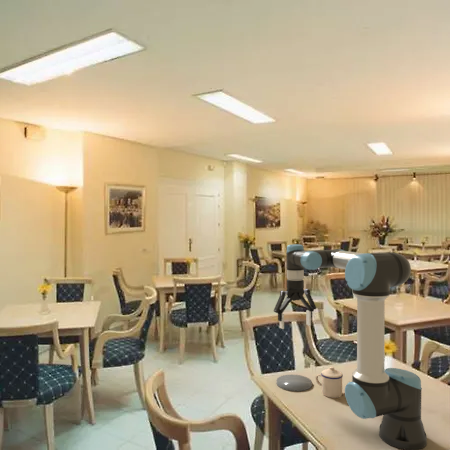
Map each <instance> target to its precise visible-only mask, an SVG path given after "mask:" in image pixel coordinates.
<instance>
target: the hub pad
mask: <svg viewBox="0 0 450 450" xmlns="http://www.w3.org/2000/svg"><path fill="white" fill-rule="evenodd" d="M276 385H277V387H278V388H280V389H283V390H285V391H289V392H304V391H308V390H309V389H311V388H312V386H313V381H312V379H310V378H309V377H307V376H305V375H300V374H283V375H280V376H279V377H277V378H276Z"/></svg>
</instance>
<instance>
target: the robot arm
mask: <svg viewBox="0 0 450 450" xmlns="http://www.w3.org/2000/svg"><path fill="white" fill-rule="evenodd" d="M285 254H286V279H287V280H286V291H285V290H280V293H279V297H278V299H277V301H276V304H275V307H274V308H273V312H274V313H276V314H277V321H278V322H279V328H280V330H281V329H282V330H284V329H285V314H284V312H285V310H287V309H286V308H287V307H288V306H289V304H290V303H291V302H294V301H300V302H301V303H302V304H303V305H304V306H305V307H306V309H307V310H306V311H305V312H306V315H305V317H306V318H305V320H306V321H305V325H306V326H308V327H311V326H312V318H313V312H314V311H315V310H317V306H316V304H315V302H314V299H313V297H312V294H311V290H310V289H309V288H304V287H305V281H304V278H305V277H304V276H305V274H304V273H305V271H304V270H305V269H306V270H311V271H312V270H317V269H322V268H323V269H326V268H335V269H341V270H344V279H345V281H346V284H347V286H348V288H349V289H351V290H352V294H353V296H354V297H356V303H357V305H356V308H357V309H356V311H357V312H356V313H357V314H356V319H357V320H356V329H357V330H356V342H357V343H356V369H354V370H353V371H352V377H351V378H352V379H351V381H348V383H347V384H345V387H344V396H345V399H346V402H347V405H348V406H349V409H350V410H351V411H352V413H353V414H354V415H355V416H356V417H358V418H360V419H363V420H367V419H375V418H377V417H382V419H381V423H380V425H379V426H378V435H379V437H380V439H381V440H382V441H383V442H384V443H386V444H388V445H389V446H392V447H394V448H397V449H401V450H422V449H423V448H425V447H426V446H427V444H428V443H427V442H428V441H427V440H428V437H427V433H426V431H425V427H424V424H423V420H422V389H423V388H422V380H421V377H420V376H419V375H417V374H416V373H414V372H412V371H409V370H406V369H402V368H396V367H389V368H385V313H386V310H385V305H386V304H385V302H386V301H385V300H386V299H387V298H388V297H389V296H390V295H391V294H390V290H391V288H395V287H399V286H402V285H403V284H405V283H406V282H407V281H408V280H409V278H410V276H411V272H412V267H411V266H412V265H411V264H410V261H409V260H408V259H407V258H406V256H405V255H402V254H401V253H397V252H393V251H392V252H391V251H390V252H373V253H372V252H371V253H370V252H369V253H368V252H367V253H365V252H364V253H363V252H356V251H347V250H344V249H340V248H339V249H338V248H337V249H336V248H335V249H326V250H325V249H323V250H322V249H319V250H305V248H304V245H302V244H298V243H297V244H295V243H293V244H288V245H287V246H286V253H285ZM304 294H305V297H306V298H305V297H304ZM384 369H385V371H384Z"/></svg>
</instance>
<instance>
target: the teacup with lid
mask: <svg viewBox="0 0 450 450" xmlns="http://www.w3.org/2000/svg"><path fill="white" fill-rule="evenodd" d="M319 377H321V382H320V380H319ZM343 377H344V376H343V373H342V372H341V371H340V370H338V369H336V368H335V367H334V366H329V368H326V369H323V370H322V371H321V373H318V374H316V376H315V382H316V384H317V385H319V387H320V386H321V394H322V395H323V396H325V397H327V398H333V399H335V398H341V397H342V396H343Z"/></svg>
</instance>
